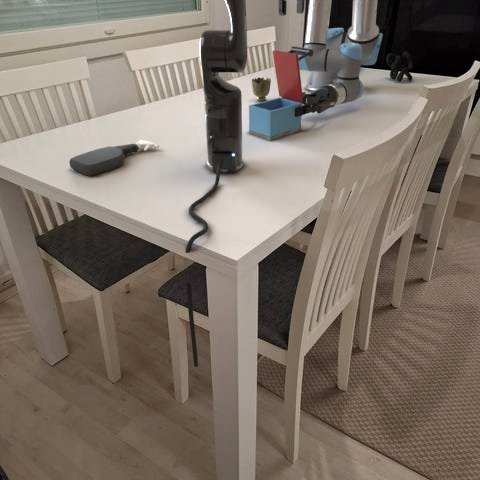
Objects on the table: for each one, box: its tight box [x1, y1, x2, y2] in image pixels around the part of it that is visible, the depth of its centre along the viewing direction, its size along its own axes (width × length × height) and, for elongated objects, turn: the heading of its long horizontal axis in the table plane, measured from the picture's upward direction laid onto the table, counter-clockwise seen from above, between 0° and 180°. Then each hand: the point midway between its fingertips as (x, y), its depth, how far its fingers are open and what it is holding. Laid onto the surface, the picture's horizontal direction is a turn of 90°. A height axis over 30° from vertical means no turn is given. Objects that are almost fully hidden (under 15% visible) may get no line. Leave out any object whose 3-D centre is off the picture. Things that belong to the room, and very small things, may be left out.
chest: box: [248, 97, 303, 141], centre depth 141 cm, size 14×10×9 cm
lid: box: [272, 45, 313, 102], centre depth 139 cm, size 14×10×9 cm
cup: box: [251, 76, 272, 102], centre depth 173 cm, size 8×7×8 cm
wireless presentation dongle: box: [68, 139, 160, 177], centre depth 124 cm, size 3×11×24 cm
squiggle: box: [385, 51, 414, 83], centre depth 198 cm, size 11×10×15 cm
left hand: (291, 14), depth 128 cm, fingers open, 6 cm apart
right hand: (283, 109), depth 142 cm, fingers closed on chest, 10 cm apart
